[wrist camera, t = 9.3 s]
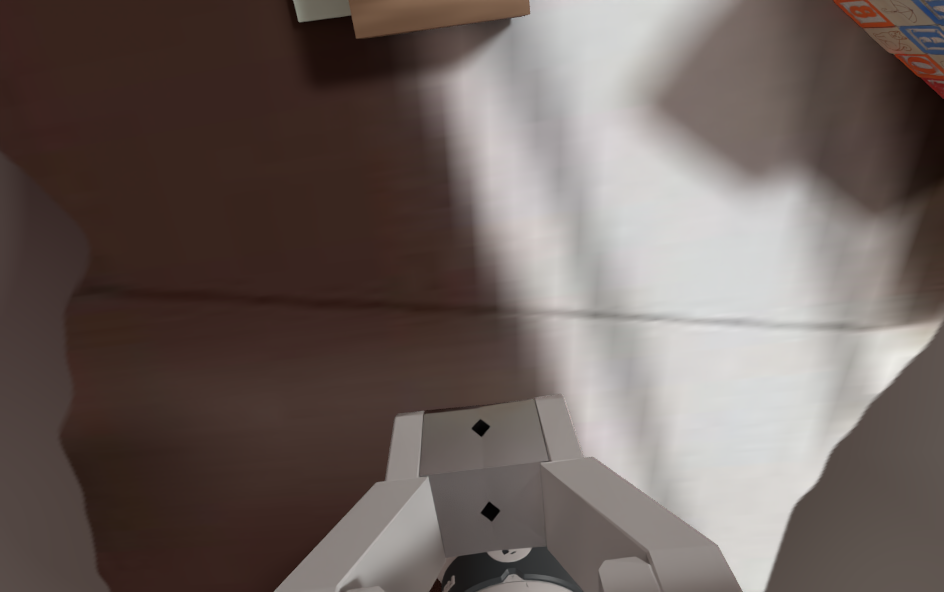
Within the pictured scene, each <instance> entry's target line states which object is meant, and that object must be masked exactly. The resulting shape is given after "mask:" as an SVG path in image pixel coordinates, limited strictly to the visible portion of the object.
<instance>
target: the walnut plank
mask: <svg viewBox="0 0 944 592" xmlns="http://www.w3.org/2000/svg"><path fill="white" fill-rule="evenodd" d="M348 1H349V6H350V11H351V16H352V21H353V26H354V31H355V35H356V39H366V38H373V37H380V36H388V35H395V34H402V33H409V32H416V31H423V30H430V29H437V28H444V27H451V26H458V25H466V24H473V23H480V22H487V21H494V20H501V19H508V18H515V17H522V16H525V15H529V14H530V5H529V0H348Z"/></svg>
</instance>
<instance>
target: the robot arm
mask: <svg viewBox="0 0 944 592" xmlns="http://www.w3.org/2000/svg"><path fill="white" fill-rule="evenodd" d="M437 578H438V580H439V581H440V582H441V583H442V592H743V591H742V589H741V588H740V586H739V584H738V582H737V580H736V578H735V576H734V575H733V573H732V571H731V569H730V567H729V565H728V563H727V562H726V560H725V558H724V556H723V554H722V552H721V550H720V549H719V547H718V545H717V544H715V543H714V542H712V541H711V540H710V539H708V538H707V537H705V536H704V535H703V534H701V533H700V532H698V531H697V530H696V529H694V528H693V527H691V526H690V525H689V524H687V523H686V522H684V521H683V520H681V519H680V518H679V517H677V516H676V515H674V514H673V513H672V512H670V511H669V510H667V509H666V508H665V507H663V506H662V505H660V504H659V503H658V502H656V501H655V500H653V499H652V498H651V497H649V496H648V495H646V494H645V493H643V492H642V491H641V490H639V489H638V488H636V487H635V486H634V485H632V484H631V483H629V482H628V481H627V480H625V479H624V478H622V477H621V476H620V475H618V474H617V473H615V472H614V471H612V470H611V469H610V468H608V467H607V466H605V465H604V464H603V463H601V462H600V461H598V460H597V459H596V458H594V457H586V458H584V455H583V452H582V449H581V446H580V443H579V440H578V437H577V434H576V431H575V428H574V425H573V422H572V419H571V416H570V413H569V410H568V407H567V404H566V401H565V398H564V396H563V395H562V394H556V395H549V396H542V397H536V398H534V399H527V400H519V401H511V402H504V403H496V404H488V405H476V406H466V407H456V408H446V409H435V410H425V412H424V411H418V412H409V413H400V414H397V416H396V417H395V419H394V424H393V431H392V437H391V444H390V450H389V457H388V463H387V470H386V476H385V481H384V482H377V483H375V484H374V485H373V486H372V488H371V489H370V490H369V491H368V492H367V493H366V494H365V495H364V496H363V497H362V498H361V499H360V500H359V501H358V502H357V504H356V505H355V506H354V507H353V508H352V509H351V510H350V511H349V512H348V513H347V514H346V515H345V516H344V517H343V518H342V520H341V521H340V522H339V523H338V524H337V525H336V526H335V527H334V528H333V529H332V530H331V531H330V532H329V533H328V534H327V536H326V537H325V538H324V539H323V540H322V541H321V542H320V543H319V544H318V545H317V546H316V547H315V548H314V549H313V550H312V551H311V553H310V554H309V555H308V556H307V557H306V558H305V559H304V560H303V561H302V562H301V563H300V564H299V565H298V566H297V567H296V569H295V570H294V571H293V572H292V573H291V574H290V575H289V576H288V577H287V578H286V579H285V580H284V581H283V582H282V583H281V585H280V586H279V587H278V588H277V589H276V590H275V591H274V592H429V591H430V589H431V588H432V586H433V584H434V582H435V580H436V579H437Z"/></svg>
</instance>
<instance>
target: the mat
mask: <svg viewBox="0 0 944 592" xmlns="http://www.w3.org/2000/svg"><path fill="white" fill-rule="evenodd" d="M293 1H294V5H295V9H296V13H297V17H298V22H307V21H314V20H322V19H329V18H336V17H344V16H351V11H350V6H349V1H348V0H293Z"/></svg>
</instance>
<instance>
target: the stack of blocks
mask: <svg viewBox="0 0 944 592" xmlns="http://www.w3.org/2000/svg"><path fill="white" fill-rule="evenodd" d="M833 1H834V3H836V4H837V5H838V6H839V7H840V8H841V9H842V10H843V11H844V12H845V13H846V14H847V15H849V16H850V17H851V18H852V19H853V20H854V21H855V22H856V23H857V24H858V25H859V26H860V27H862V28H863V29H864V30H865V31H866V32H867V33H868V34H869V35H870V36H871V37H872V38H873V39H874V40H875V41H876V42H877V43H878V44H879V45H881V46H882V47H883V48H884V49H885V50H886V51H887V52H889V53H891V54H894V55H895V57H896V58H898V59H899V60H900V61H901V62H903V63H904V64H905V65H906V66H907V67H908V68H909V69H910V70H911V71H912V72H913V73H914V74H915V75H916V76H918V77H921V79H922V80H924V81H925V82H926V83H927V84H928V85H929V86H930V87H931V88H932V89H933V90H934V91H936V92H937V94H938V95H940V96H941V97H942V98H943V99H944V0H833Z"/></svg>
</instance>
